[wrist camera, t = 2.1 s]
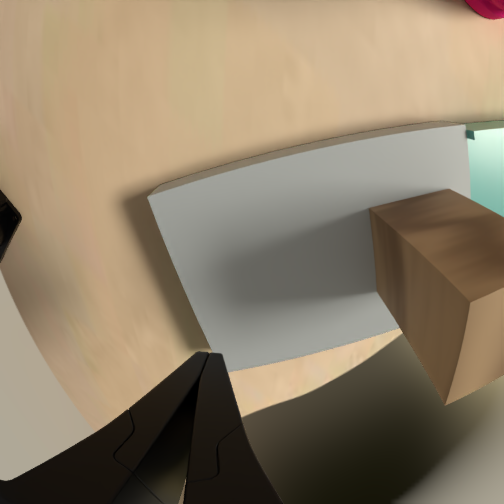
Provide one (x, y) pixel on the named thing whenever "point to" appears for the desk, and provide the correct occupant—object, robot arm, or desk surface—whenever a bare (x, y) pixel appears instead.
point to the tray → (487, 163)
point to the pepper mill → (488, 8)
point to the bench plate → (298, 237)
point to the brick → (444, 285)
